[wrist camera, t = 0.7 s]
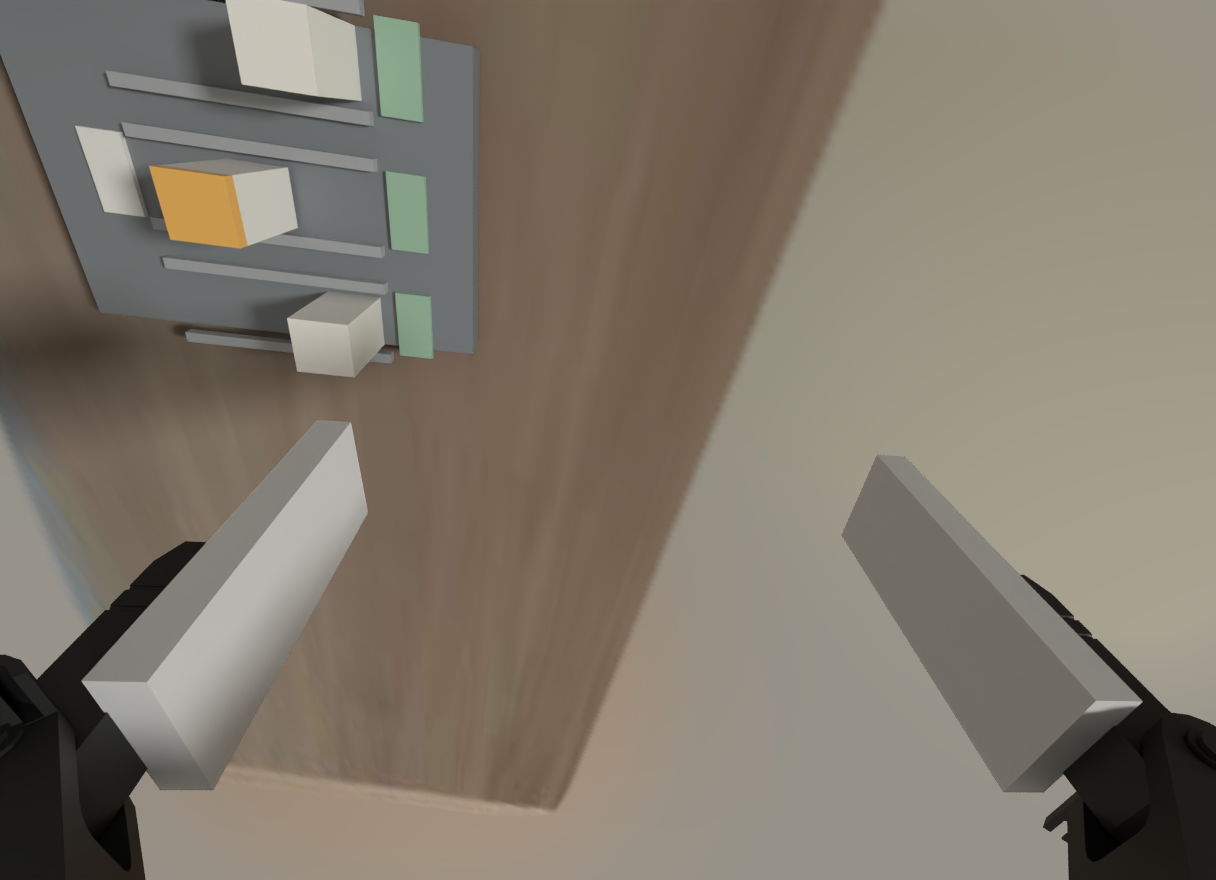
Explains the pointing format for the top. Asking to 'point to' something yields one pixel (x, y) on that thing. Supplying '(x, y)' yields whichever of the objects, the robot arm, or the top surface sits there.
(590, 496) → the top surface
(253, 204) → the breaker handle
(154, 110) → the panel
